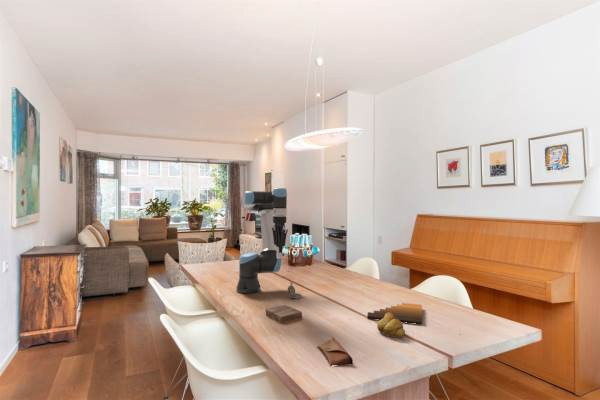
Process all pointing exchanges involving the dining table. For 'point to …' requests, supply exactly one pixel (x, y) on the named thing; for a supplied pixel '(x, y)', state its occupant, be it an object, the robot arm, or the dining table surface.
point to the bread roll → (391, 326)
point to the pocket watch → (293, 292)
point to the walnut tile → (283, 313)
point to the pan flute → (401, 313)
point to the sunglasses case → (335, 352)
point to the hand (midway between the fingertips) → (279, 258)
